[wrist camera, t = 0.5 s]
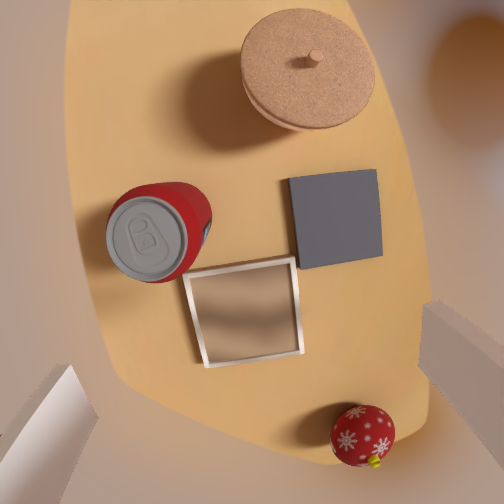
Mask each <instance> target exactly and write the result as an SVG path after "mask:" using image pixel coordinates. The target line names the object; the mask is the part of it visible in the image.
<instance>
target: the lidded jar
mask: <svg viewBox="0 0 504 504" xmlns="http://www.w3.org/2000/svg"><path fill="white" fill-rule="evenodd" d="M240 70H241V75H242V81H243V85H244V88H245V91H246V93H247V96H248V97H249V99H250V101H251V103H252V104H253V105H254V107H255V108H256V109H257V110H258V111H259V112H260V113H261V114H262V115H263V116H264V117H265V118H267V119H268V120H270V121H271V122H273V123H275V124H277V125H279V126H281V127H284V128H287V129H290V130H296V131H317V130H323V129H326V128H331V127H334V126H338V125H340V124H342V123H345V122H347V121H349V120H350V119H352V118H353V117H355V116H356V115H357V114H358V113H359V112H361V111H362V110H363V108H364V107H365V106H366V104H367V103H368V101H369V99H370V97H371V95H372V92H373V88H374V81H375V72H374V65H373V61H372V58H371V55H370V53H369V51H368V49H367V47H366V45H365V44H364V42H363V41H362V39H361V38H360V37H359V36H358V35H357V33H356V32H355V31H353V30H352V29H351V28H350V27H349V26H348V25H346V24H345V23H344V22H342V21H341V20H339V19H337V18H335V17H333V16H331V15H329V14H326V13H323V12H320V11H316V10H311V9H287V10H282V11H279V12H276V13H273V14H271V15H269V16H267V17H265V18H263V19H262V20H261V21H259V22H258V23H257V24H256V25H255V26H254V27H253V28H252V29H251V30H250V31H249V33H248V34H247V36H246V38H245V40H244V42H243V45H242V48H241V54H240Z"/></svg>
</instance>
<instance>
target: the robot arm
mask: <svg viewBox="0 0 504 504" xmlns="http://www.w3.org/2000/svg"><path fill="white" fill-rule="evenodd" d="M418 367H419V368H420V369H421V370H422V371H423V372H424V373H425V375H426V376H427V377H428V378H429V379H430V380H431V382H432V383H433V384H434V385H435V386H436V387H437V389H438V390H439V391H440V392H441V393H442V394H443V396H444V397H445V398H446V399H447V400H448V402H449V403H450V404H451V405H452V406H453V407H454V409H455V410H456V411H457V412H458V414H459V415H460V416H461V417H462V418H463V420H464V421H465V422H466V423H467V424H468V426H469V427H470V428H471V429H472V431H473V432H474V433H475V434H476V436H477V437H478V438H479V439H480V441H481V442H482V443H483V445H484V446H485V447H486V448H487V449H488V451H489V452H490V453H491V455H492V456H493V457H494V458H495V460H496V461H497V462H498V464H499V465H500V466H501V468H502V469H503V470H504V346H503V345H502V344H501V343H500V342H498V341H497V340H495V339H494V338H493V337H492V336H490V335H489V334H487V333H486V332H485V331H483V330H482V329H481V328H479V327H478V326H476V325H475V324H474V323H472V322H471V321H469V320H468V319H467V318H465V317H464V316H462V315H461V314H460V313H458V312H457V311H455V310H454V309H452V308H451V307H450V306H448V305H447V304H445V303H444V302H442V301H440V300H437V301H433V302H430V303H427V304H423V315H422V330H421V342H420V353H419V362H418ZM97 420H98V416H97V414H96V412H95V411H94V409H93V407H92V405H91V403H90V401H89V400H88V398H87V396H86V394H85V392H84V390H83V388H82V386H81V384H80V382H79V380H78V378H77V376H76V374H75V372H74V370H73V368H72V366H71V364H61V365H56V366H55V367H54V368H53V369H52V371H51V372H50V373H49V374H48V375H47V377H46V378H45V379H44V380H43V381H42V383H41V384H40V385H39V386H38V388H37V389H36V390H35V391H34V393H33V394H32V395H31V397H30V398H29V399H28V401H27V402H26V403H25V404H24V406H23V407H22V408H21V410H20V411H19V412H18V413H17V415H16V416H15V417H14V419H13V420H12V421H11V423H10V424H9V425H8V427H7V428H6V430H5V431H4V432H3V433H2V434H1V435H0V504H59V503H60V500H61V498H62V496H63V493H64V491H65V489H66V486H67V484H68V482H69V479H70V477H71V475H72V473H73V471H74V468H75V466H76V464H77V462H78V460H79V457H80V455H81V453H82V451H83V449H84V447H85V444H86V443H87V440H88V438H89V436H90V434H91V432H92V430H93V428H94V426H95V424H96V422H97Z"/></svg>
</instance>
